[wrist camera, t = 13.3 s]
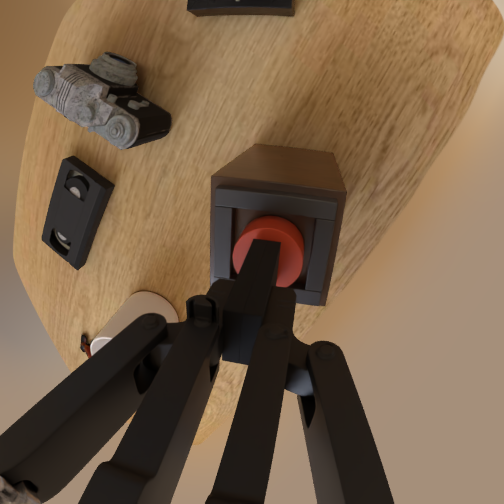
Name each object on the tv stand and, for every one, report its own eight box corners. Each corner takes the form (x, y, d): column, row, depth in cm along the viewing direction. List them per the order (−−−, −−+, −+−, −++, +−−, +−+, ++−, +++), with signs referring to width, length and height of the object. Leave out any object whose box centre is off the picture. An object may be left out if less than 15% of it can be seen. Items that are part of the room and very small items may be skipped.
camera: (192, 93, 31) (147, 93, 22) (162, 145, 34) (112, 163, 25) (98, 41, 29) (41, 34, 20) (75, 88, 32) (18, 94, 23)
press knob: (308, 220, 19) (307, 233, 17) (299, 278, 21) (297, 295, 19) (241, 211, 19) (233, 223, 18) (238, 269, 21) (231, 285, 20)
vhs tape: (72, 154, 36) (63, 157, 35) (115, 185, 37) (106, 189, 35) (49, 234, 43) (41, 239, 41) (85, 264, 44) (77, 270, 42)
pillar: (333, 152, 31) (348, 195, 17) (323, 225, 35) (325, 313, 21) (254, 143, 32) (206, 178, 18) (250, 216, 36) (206, 295, 22)
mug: (117, 329, 48) (83, 373, 39) (136, 277, 43) (95, 324, 33) (162, 357, 49) (135, 406, 40) (189, 311, 43) (159, 365, 34)
